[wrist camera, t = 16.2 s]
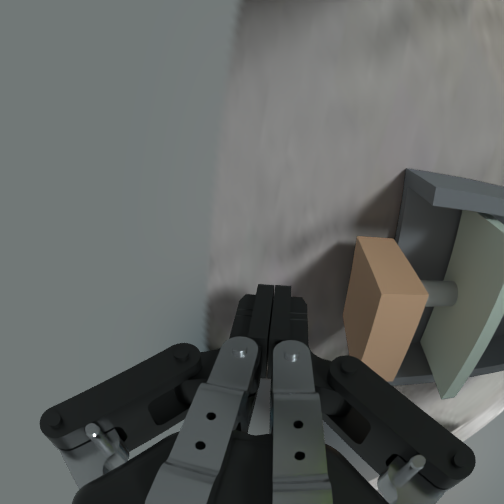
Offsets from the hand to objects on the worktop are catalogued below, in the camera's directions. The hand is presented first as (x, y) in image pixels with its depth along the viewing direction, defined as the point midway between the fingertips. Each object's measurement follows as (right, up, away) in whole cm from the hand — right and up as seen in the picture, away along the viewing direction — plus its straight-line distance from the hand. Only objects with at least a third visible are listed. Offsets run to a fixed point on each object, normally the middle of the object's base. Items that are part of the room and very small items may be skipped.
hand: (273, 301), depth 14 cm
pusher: (+8, +1, +1) cm, 8 cm away
